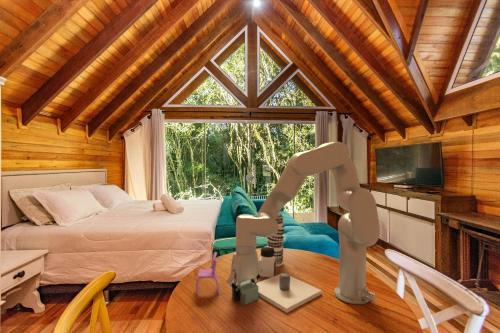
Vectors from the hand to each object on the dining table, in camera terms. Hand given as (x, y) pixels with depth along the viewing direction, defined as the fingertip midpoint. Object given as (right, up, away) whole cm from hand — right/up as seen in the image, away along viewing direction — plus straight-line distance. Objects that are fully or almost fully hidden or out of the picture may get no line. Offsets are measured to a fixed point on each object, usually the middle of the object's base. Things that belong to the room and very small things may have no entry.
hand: (244, 295), depth 97 cm
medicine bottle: (+10, -1, +21) cm, 23 cm away
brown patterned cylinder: (+14, -1, +34) cm, 37 cm away
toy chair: (-14, -1, +5) cm, 15 cm away
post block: (+15, -1, +5) cm, 16 cm away
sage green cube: (0, -1, 0) cm, 1 cm away
